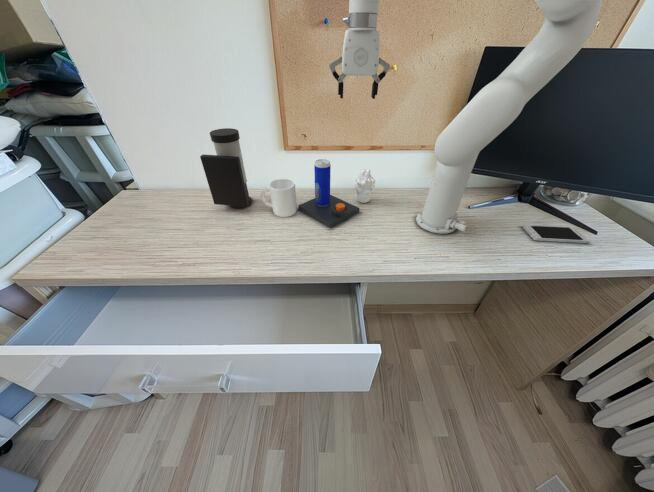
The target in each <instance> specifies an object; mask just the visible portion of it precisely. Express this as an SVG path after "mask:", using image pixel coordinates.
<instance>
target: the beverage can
mask: <svg viewBox="0 0 654 492" xmlns="http://www.w3.org/2000/svg"><path fill="white" fill-rule="evenodd" d="M313 166H314V169H313V170H314V198H315V203H316V204H317V205H318V206H320V207H325V206H328V205H329V203H330V195H331V169H332V168H331V161H330V160H329V159H326V158H321V159H315V161H314V165H313Z"/></svg>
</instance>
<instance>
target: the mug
mask: <svg viewBox="0 0 654 492" xmlns="http://www.w3.org/2000/svg"><path fill="white" fill-rule="evenodd" d="M267 192H270V200H271V202H270V201H268V200H267V198H266V193H267ZM260 199H261V202H263V204H264V205H266V206H267V207H270V208H272V212H273V214H274V215H275V216H277V217H280V218H288V217H293V216H294V215H295V214H296V213H297V210H298V204H297V203H298V202H297V192H296V183H295V181H294V180H292V179H289V178H278V179H274V180H272V181H271V182H270V183H269V186H265V187H264V188H263V189H262V190H261V192H260Z"/></svg>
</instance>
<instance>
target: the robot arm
mask: <svg viewBox="0 0 654 492" xmlns="http://www.w3.org/2000/svg"><path fill="white" fill-rule="evenodd" d="M533 1H534V2H535V3H536V5H537V7H538V8H539V10H540V12H541V13H542V15H543V17H544V19H543V24H542V26H541V27H540V29H539V31H538V32H537V34H536V35H535V36H534V38H533V39H532V40H531V41H529V42H528V44H527V45H526V46H525V47H524V48H523V49H522V50H521V52H519V54H518V55H517V56H516V58H515V59H514V60H513V61H512V62H511V63H509V65H508V66H507V67H505V69H504V70H503V71H502V72H501V73H500V74H499V75H498V76H497V77H496V78H495V79H493V80H491V81H490V82H489V83H488V84H486V85H485V86H484V87H482V88H481V89H480V90H479V91H478V92H477V93H476V94H475V95H474V96H473V97H472V99H471V100H470V101H469V102H468V103H467V104H466V105H465V106H464V107H463V108H462V109H461V110H460V111H459V112H458V114H457V115H456V116H455V117H454V118H453V119H452V120H451V122H450V123H449V124H448V125H447V126H446V127H445V128H444V129H443V130H442V132H440V133H439V135H438V136H437V138H436V140H435V143H434V155H435V158H436V160H437V161H436V164H435V167H434V171H433V175H432V178H431V181H430V184H429V185H430V186H429V189H428V193H427V197H426V200H425V203H424V207H423V210H422V211H420V212H419V213H417V215H416V218H415V222H416V223H417V225H418V226H419V228H421V229H423V230H424V231H427V232H430V233H433V234H439V235H440V234H441V235H445V234H451V233H453V232H455V231H456V229H457V230H458V231H461V232H465V231H466V230H467V227H468V226H467V225H466V223H467V222H466V221H464V220H461V219H459V218H458V217H459V213H457V212H458V209H459V207H460V204H461V201H462V198H463V195H464V194H465V191H466V187H467V185H468V183H469V180H470V177H471V174H472V173H473V169H474V167H475V164H476V161H477V159H478V156H479V154H480V152H481V151H482V150H483V149H484V148H486V147H487V146H488V145H489V144H490V143H491V142H492V141H494V140H495V139H496V138H497V137H498V136H499V135H501V133H502V132H503V131H505V130H506V129H507V128H508V127H509V126H510V125H511V124H512V123H513V122H514V121H515V120H516V119H517V118H518V117H519V116H520V114H521V112H522V111H523V109H524V107H525V105H526V104H527V103H528V102H529V101H530V100H531V99H532V98H533V97H534V96H535V95H536V94H537V93H538V92H540V90H542V89H543V88H544V87H545V86H546V85H547V84H548V83H549V82H550V81H552V79H553V78H555V76H556V75H557V74H558V73H560V72H561V71H562V70H563V69H564V68H565V67H566V65H568V64H569V63H570V62H571V60H573V59H574V57H575V56H576V55H578V53H579V52H580V51H581V49H582V48H583V47H584V45H585V44H586V42H587V41H588V40H589V38H590V37H591V35H592V33H593V31H594V29H595V27H596V25H597V23H598V20H599V17H600V14H601V12H602V7H603V0H533ZM379 5H380V0H348V15H347V16H346V17H342V25H345V26H346V27H347V30H345V31H344V36H343V42H342V43H343V44H342V53H341V56H340V57H338V58H337V59H335V60H334V61H332V62H330V63H329V64H328V66H329V70H330V71H331V74H332V76H333V77H334V79H335V80H336V81H337V83H338V85H337V87H338V88H337V95H338V96H339V98H340V99H343V98H344V80H345V78H346V77H347V76H355V77H357V76H359V77H360V76H362V77H370V76H371V77H372V79H373V82H372V85H371V95H370V97H371V99H372V100H375V99H376V96H378V92H379V84H380V83H381V81H382V80H383V79H384V78H385V77H386V75H387V73H388V72H389V70H390V68H391V65H390V64H389V62H387V61H385V60H384V59H382V58H381V57H380V44H381V43H380V42H381V41H380V40H381V39H380V36H381V35H380V30H377V28H378V27H377V26H378V16H379V7H380V6H379ZM340 64H341V73H340V74H338V72H337V70H336V67H337V66H339V65H340ZM379 65H380V66H381V67H382V68H383V69H382V71H381V72H380V73H379V74H378V72H379V71H378V70H379Z"/></svg>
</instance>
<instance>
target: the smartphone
mask: <svg viewBox="0 0 654 492" xmlns="http://www.w3.org/2000/svg"><path fill="white" fill-rule="evenodd" d="M522 229H524V231H525V232H526V233H527V234H528V235H529V237H530V238H531V239H533V241H540V242H541V241H542V242H556V243H557V242H558V243H559V242H560V243H561V242H562V243H576V244H577V243H578V244H588V243H589V241H590V239H588V238H587V237H586V236H585V235H583V234H582V233H581V232H580V231H579V230H578V229H577V228H576V227H570V226H549V225H528V224H527V225H526V224H524V225H523V226H522Z"/></svg>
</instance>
